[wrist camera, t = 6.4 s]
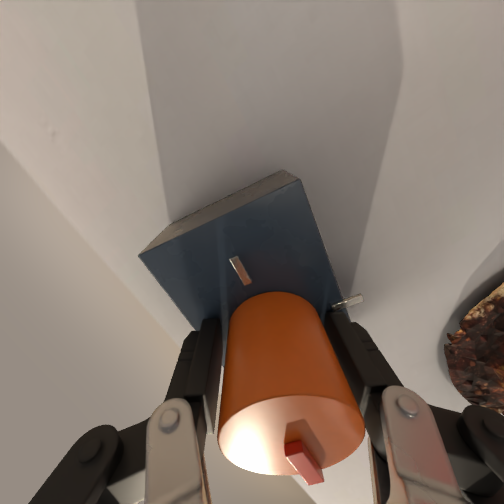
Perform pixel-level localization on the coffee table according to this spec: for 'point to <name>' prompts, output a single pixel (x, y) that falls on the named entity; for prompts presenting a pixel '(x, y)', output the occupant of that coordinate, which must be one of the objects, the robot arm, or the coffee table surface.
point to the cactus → (480, 353)
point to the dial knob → (285, 391)
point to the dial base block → (245, 254)
